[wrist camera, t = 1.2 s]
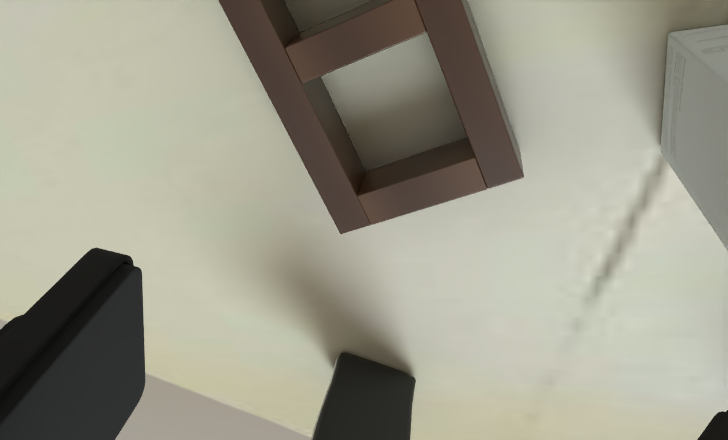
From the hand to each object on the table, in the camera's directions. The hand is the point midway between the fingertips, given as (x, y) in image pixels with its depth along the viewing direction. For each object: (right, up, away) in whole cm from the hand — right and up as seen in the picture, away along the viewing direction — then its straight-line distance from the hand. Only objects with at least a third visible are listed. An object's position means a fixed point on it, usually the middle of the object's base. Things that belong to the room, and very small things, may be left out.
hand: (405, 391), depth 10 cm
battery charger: (0, -10, +40) cm, 41 cm away
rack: (-1, +14, +25) cm, 29 cm away
